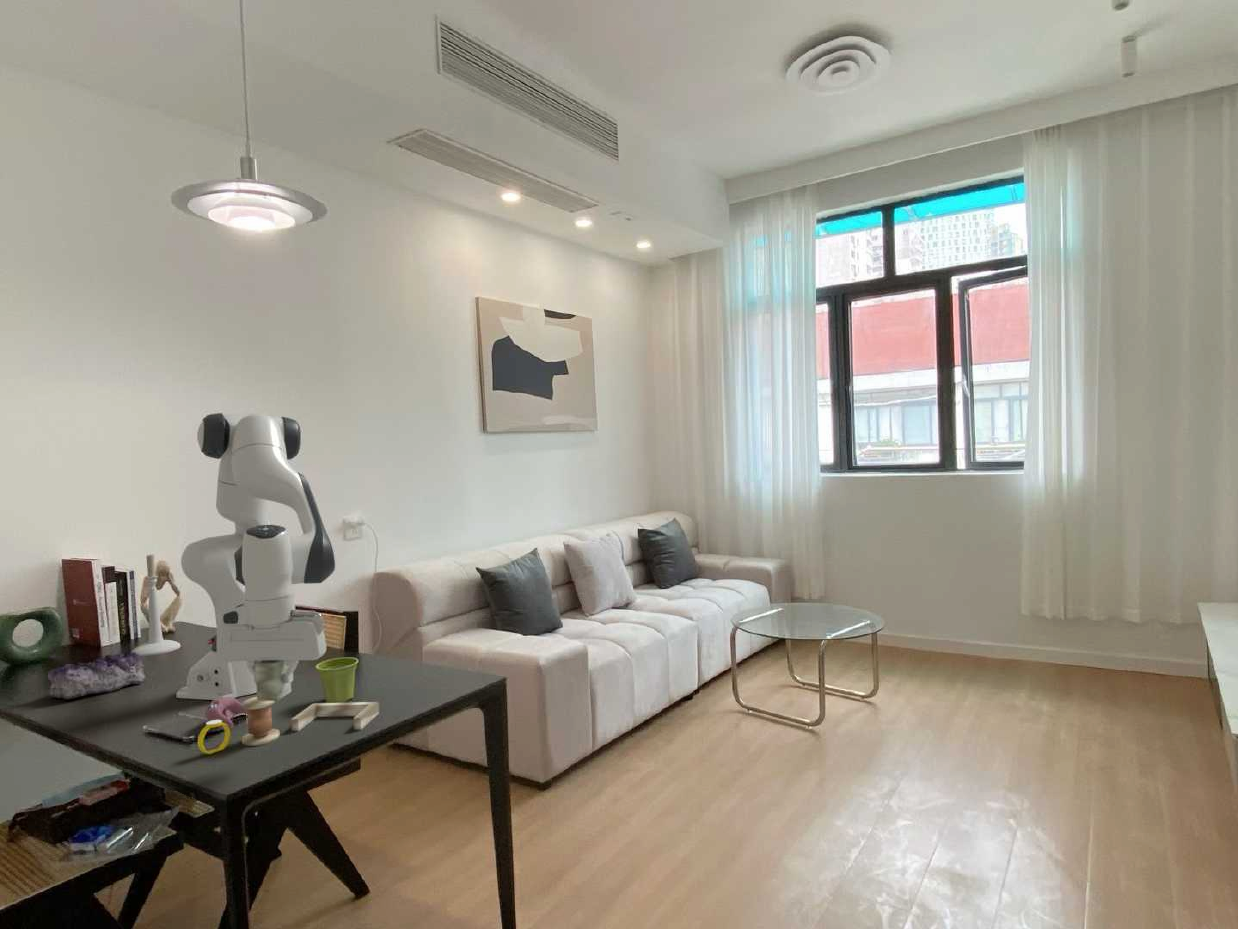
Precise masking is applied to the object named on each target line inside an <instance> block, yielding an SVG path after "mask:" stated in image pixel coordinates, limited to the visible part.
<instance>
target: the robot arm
mask: <svg viewBox="0 0 1238 929" xmlns="http://www.w3.org/2000/svg"><path fill="white" fill-rule="evenodd" d="M196 438H197V443H198V447H199V448H200V452H202V454H204V455H205V456H206V457H208V458H211V459H217V460H219V461H220V462H219V468H218V474H217V485H216V486H217V487H216V500H215V501H216V502H215V507H216V511H217V513H218V514H219V515H220V516H222V518H224V519H226V520H228V521H230V522H232V523H234V527H235V529H234V530H235V531H234V533H231V534H225V535H216V536H209V537H206V538H202V539H199V540H197V541H194V542H192V543H189V544H188V545H186V547H185V548H184V549H183V552H182V553H181V557H180V564H181V565H180V566H181V569H182V571H183V574H184V575H185V576H186V577H187V579H188V580H190V581H192V582H194V583H195V584H197V585H199V586H200V587H201V588H203V590H204V591H205V592H206V593H207V594H208V596H209V598H210V600H211V602H212V605H213V610H214V615H215V623H216V635H214V636H212V637H211V638H210V639H208V640H206V642H207V643H206V645H207V646H209V645H211V648H210V651H209V652H207V653H206V654H205V655H204V656H202V658H200V659H199V660H198V661H197V662H196V663H195V664H193V665H192V666H191V667H190V669H188V670H189V671H188V673H187V677H186V685H185V686H184V687H182V688H180V689H179V690H178V691H177V692H176V698H177V699H178V698H179V699H186V700H187V699H190V700H209V701H210V700H211V701H213V700H215V699H217V698H219V697H223V696H227V695H229V696H231V697H234V698H235V699H236V698H238V697H243V696H248V695H253V694H255V693H256V694H257V686H256V668H255V664H257V663H259V662H260V661H285V660H286V666H289V667H288V669H287V671H286V672H285V673H283V674H281V678H282V680H281V682H282V683H291V684H292V683H293V681H294V671H295V670H296V668H297V667H298V664H299V661H317V660H319V659H320V658H321V657H323V656H324V655H325V654H326V651H327V642H326V636H325V631H324V627H325V623H324V617H323V616H322V615H321V613H320V612H319V613H318V612H317V611H316V610H312V609H310V610H296V602H295V601H296V599H295V590H294V587H293V585H298V584H304V585H307V584H310V585H311V584H322V583H323V582H325V581H326V580H328V578H329V577H330V576H331V575H332V574H333V573H334V571H335V570H336V562H337V558H336V552H335V548H334V546H333V544H332V542H331V540H330V538H329V535H328V533H327V530H326V529H325V525H324V523H323V520H322V517H321V515H320V511H319V508H318V505H317V502H316V499H315V496H314V494H313V491H312V490H311V486H310V483H309V482H308V480H307V478H306V477H305V475H304V474H301V473H300V472H297V471H296V470H295V469H294V468H293V467H292V466H291V465H290V463H289V460H293V459H294V458H295V457H297V456H298V454H299V452H300V450H301V448H302V444H303V433H302V430H301V427H300V424H299V423H298V421H297V420H295V419H294V418H293V419H292V418H290V417H286V416H281V417H279V416H273V415H268V414H262V413H250V414H249V413H226V414H223V413H222V412H218V413H217V412H215V413H210V414H207V415H206V416H205V417H203V418H202V421H201V422H200V424H199V426H198V429H197V435H196ZM269 501H270V502H275V503H278V504H282V505H285V506H287V507H289V508H290V509H292V510H294V512H295V513H296V516H297V518H298V521H299V524H300V528H301V530H302V533H303V535H298V536H289V532H288V530H287V528H285V527H284V526H281V525H275V524H272V523H271V522H270V519H269V516H268V515H269V514H268V508H267V506H268V505H267V504H268V503H267V502H269Z"/></svg>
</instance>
